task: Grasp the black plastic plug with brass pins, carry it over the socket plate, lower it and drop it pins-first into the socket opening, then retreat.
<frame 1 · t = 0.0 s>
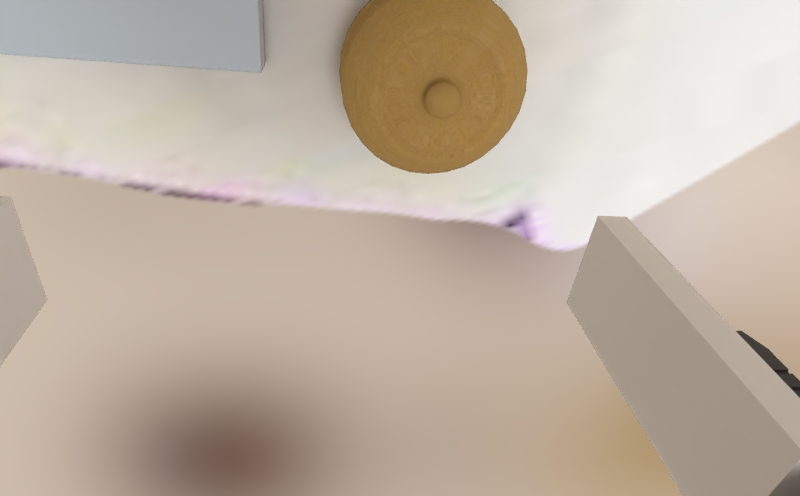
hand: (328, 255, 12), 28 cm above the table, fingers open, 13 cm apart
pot: (419, 59, 37), on the table
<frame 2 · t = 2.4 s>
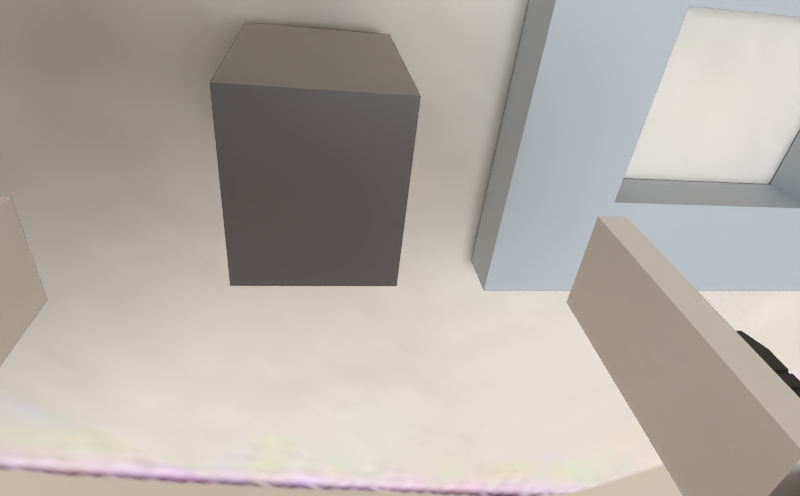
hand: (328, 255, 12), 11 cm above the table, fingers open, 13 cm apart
socket plate: (718, 101, 23), on the table
plug: (318, 98, 21), on the table
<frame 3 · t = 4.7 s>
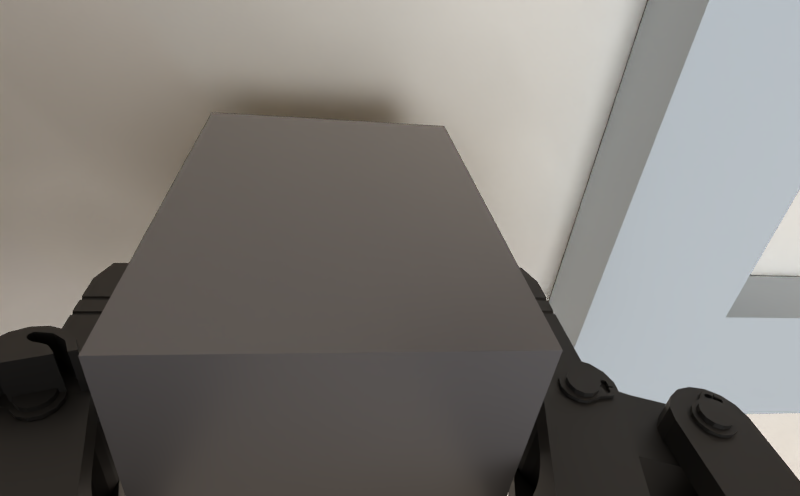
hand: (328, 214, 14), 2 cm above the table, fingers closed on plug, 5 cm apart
plug: (328, 206, 14), point 2 cm above the table, touching gripper
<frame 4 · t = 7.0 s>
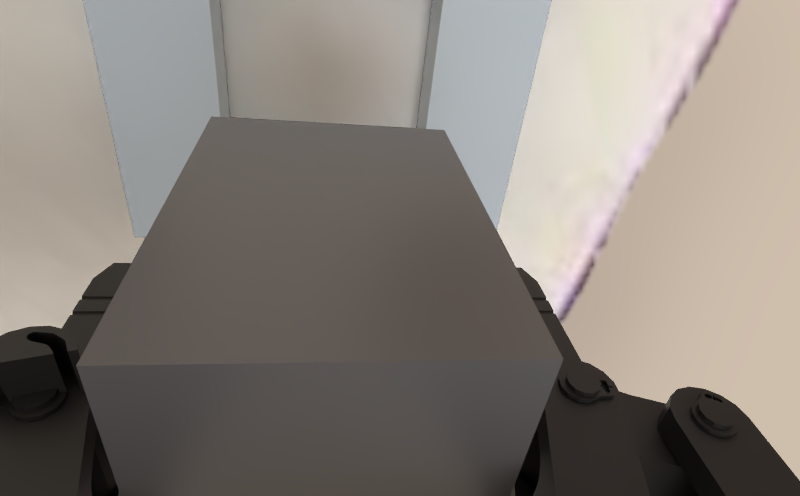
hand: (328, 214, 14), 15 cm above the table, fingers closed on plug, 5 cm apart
socket plate: (327, 64, 26), on the table
plug: (328, 209, 14), point 15 cm above the table, touching gripper
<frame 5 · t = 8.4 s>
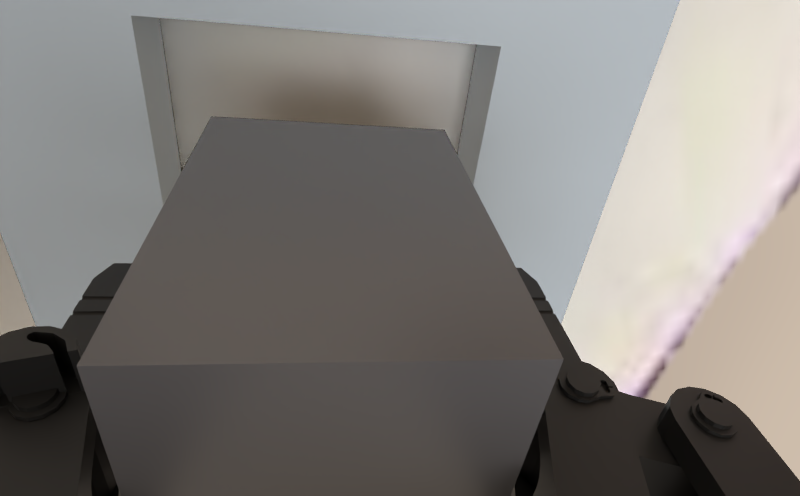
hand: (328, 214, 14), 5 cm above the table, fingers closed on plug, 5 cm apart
socket plate: (323, 136, 18), on the table
plug: (328, 210, 14), point 5 cm above the table, touching gripper
when the fingers open (2 cm above the table, at t = 9.3 s): plug drops 2 cm, resting in socket plate.
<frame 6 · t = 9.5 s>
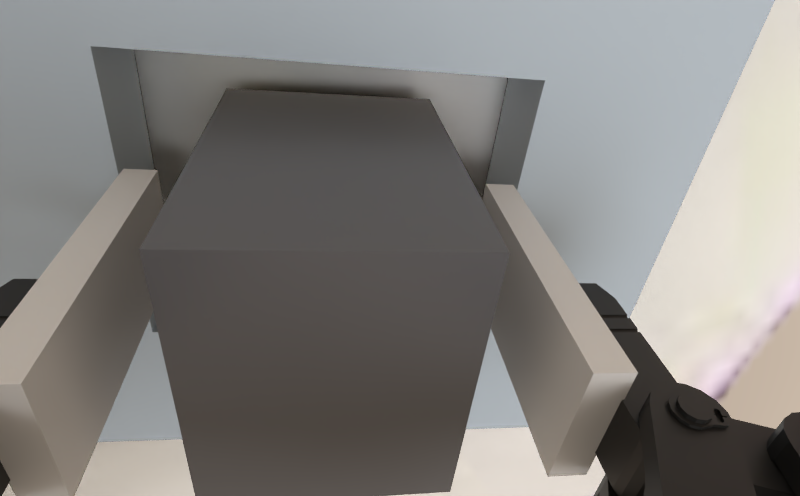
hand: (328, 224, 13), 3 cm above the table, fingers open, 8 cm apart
socket plate: (328, 177, 16), on the table
plug: (329, 176, 16), resting in socket plate
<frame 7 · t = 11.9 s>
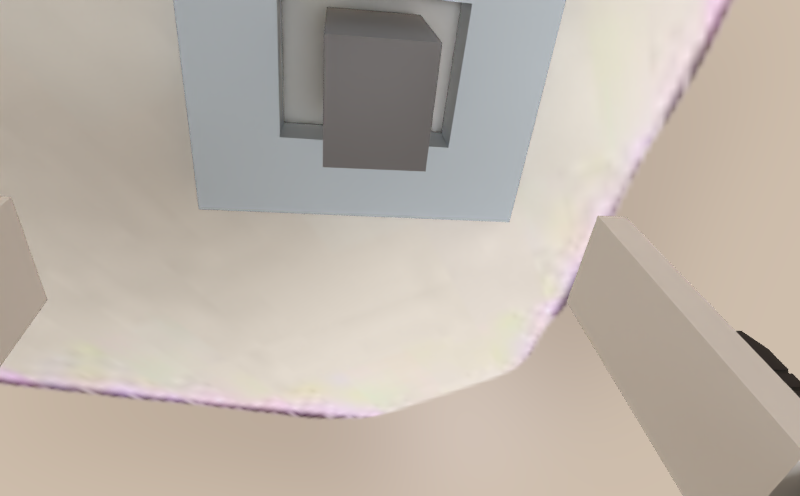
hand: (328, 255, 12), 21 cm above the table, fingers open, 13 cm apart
socket plate: (368, 62, 30), on the table
plug: (369, 62, 30), resting in socket plate
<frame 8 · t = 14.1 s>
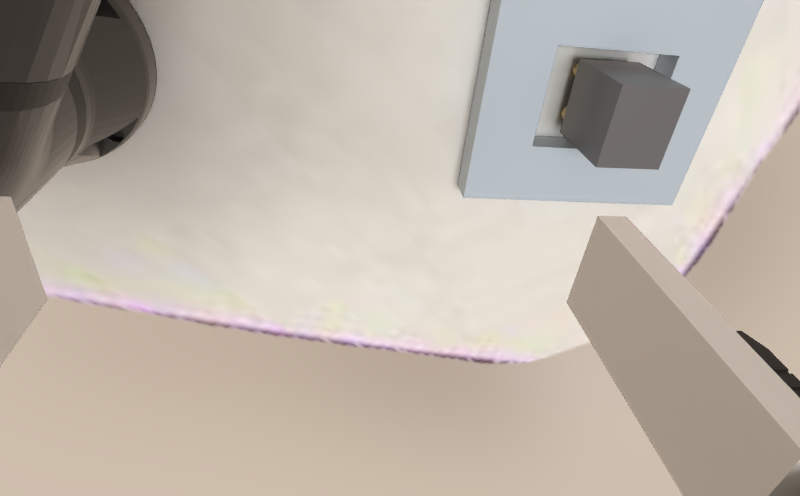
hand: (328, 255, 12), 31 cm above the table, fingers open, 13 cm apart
socket plate: (590, 93, 43), on the table
plug: (590, 92, 43), resting in socket plate
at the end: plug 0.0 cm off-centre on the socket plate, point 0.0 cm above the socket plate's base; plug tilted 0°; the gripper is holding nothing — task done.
